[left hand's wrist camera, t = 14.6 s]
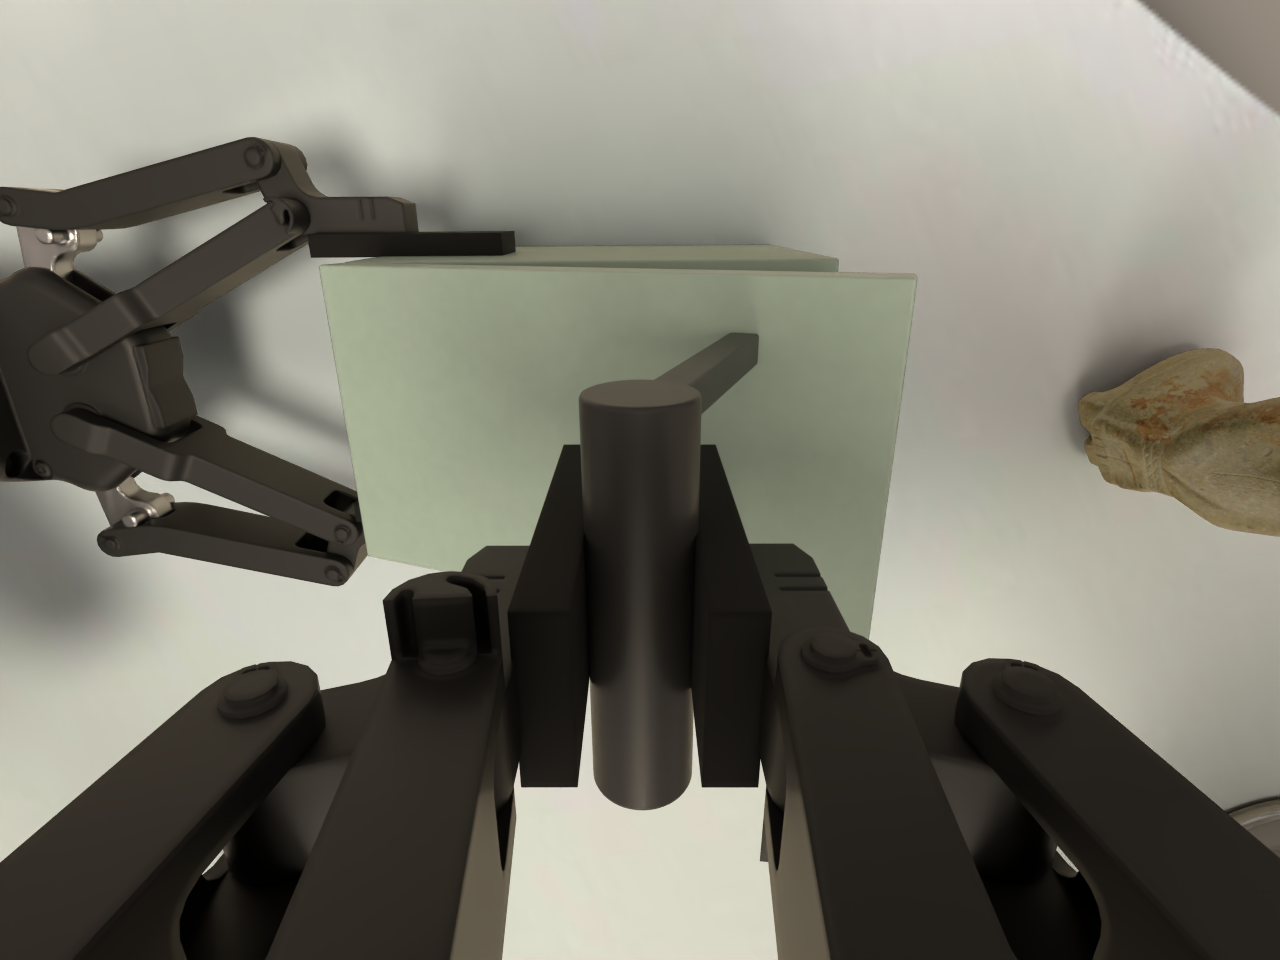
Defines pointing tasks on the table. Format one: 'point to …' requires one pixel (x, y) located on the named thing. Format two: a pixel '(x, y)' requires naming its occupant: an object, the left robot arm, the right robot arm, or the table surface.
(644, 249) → the chest
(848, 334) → the lid
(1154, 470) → the sculpture
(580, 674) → the left robot arm
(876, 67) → the table surface
